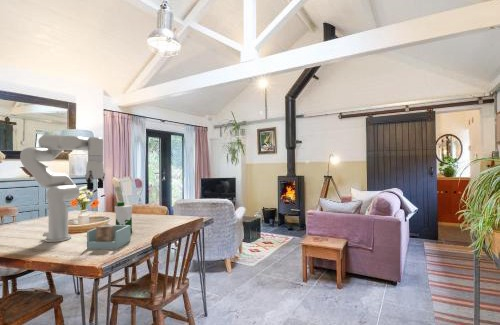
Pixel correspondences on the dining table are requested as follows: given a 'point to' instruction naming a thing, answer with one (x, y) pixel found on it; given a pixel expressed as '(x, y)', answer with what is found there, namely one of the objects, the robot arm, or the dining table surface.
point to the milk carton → (123, 214)
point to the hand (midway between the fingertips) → (95, 188)
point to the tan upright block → (105, 234)
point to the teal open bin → (120, 238)
